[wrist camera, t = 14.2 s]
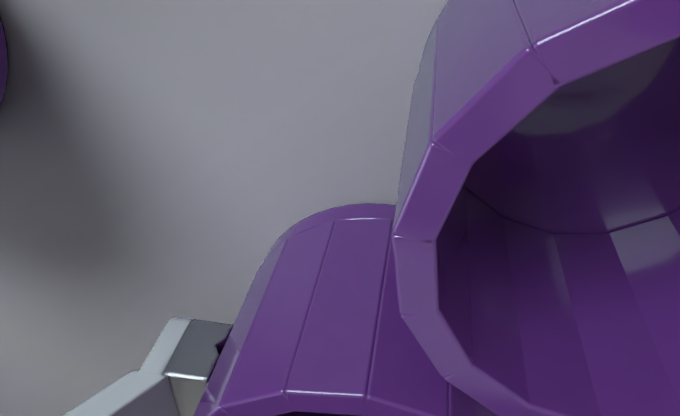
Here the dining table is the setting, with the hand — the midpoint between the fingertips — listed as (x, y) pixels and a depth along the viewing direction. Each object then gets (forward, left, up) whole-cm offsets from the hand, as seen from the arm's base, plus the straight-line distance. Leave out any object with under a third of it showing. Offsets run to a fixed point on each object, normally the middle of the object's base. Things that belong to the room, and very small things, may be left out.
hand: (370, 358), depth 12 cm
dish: (-6, -3, -2) cm, 7 cm away
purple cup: (0, 0, -2) cm, 2 cm away
